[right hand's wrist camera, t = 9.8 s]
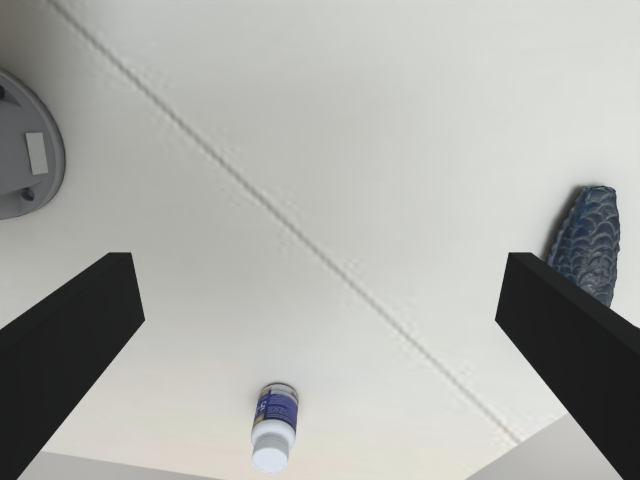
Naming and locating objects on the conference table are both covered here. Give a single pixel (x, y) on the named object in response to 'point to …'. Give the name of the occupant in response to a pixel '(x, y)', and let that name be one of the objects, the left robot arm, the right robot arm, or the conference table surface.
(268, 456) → the pill bottle
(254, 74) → the conference table surface
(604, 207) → the fish model
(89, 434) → the conference table surface
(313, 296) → the conference table surface
